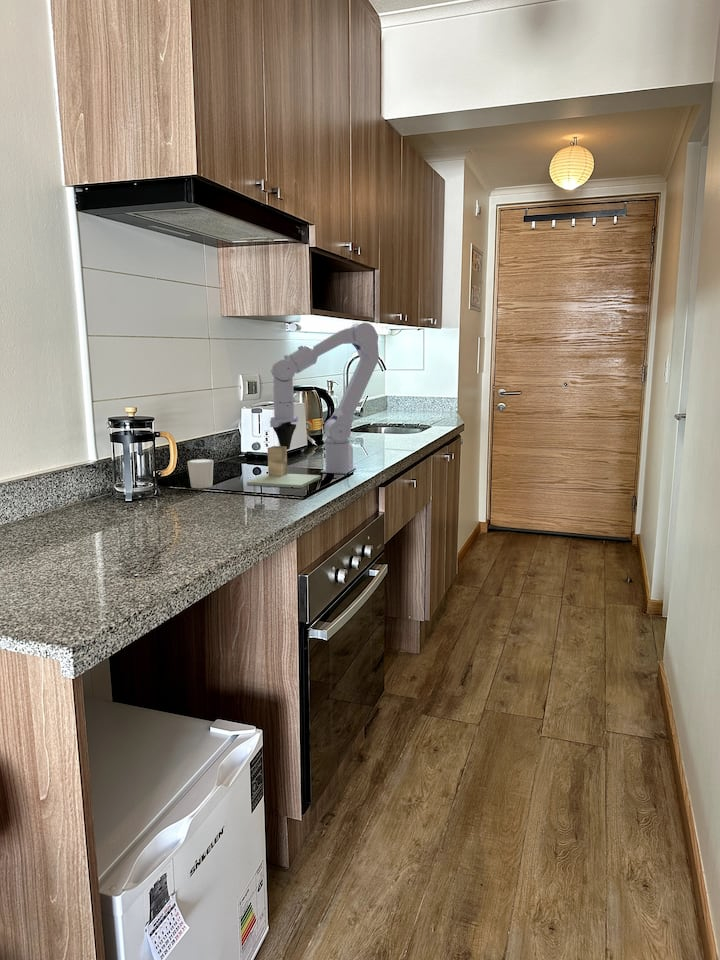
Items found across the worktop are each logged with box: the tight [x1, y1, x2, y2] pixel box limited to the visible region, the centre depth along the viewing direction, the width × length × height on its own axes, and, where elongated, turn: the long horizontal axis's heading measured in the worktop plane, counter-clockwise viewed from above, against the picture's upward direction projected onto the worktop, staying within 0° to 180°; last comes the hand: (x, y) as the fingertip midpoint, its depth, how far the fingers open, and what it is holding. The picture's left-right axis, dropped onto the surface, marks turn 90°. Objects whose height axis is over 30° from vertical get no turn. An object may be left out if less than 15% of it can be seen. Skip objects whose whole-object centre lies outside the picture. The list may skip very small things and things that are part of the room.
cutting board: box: [246, 473, 322, 489], centre depth 187 cm, size 14×16×1 cm
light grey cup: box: [187, 458, 214, 489], centre depth 181 cm, size 7×7×7 cm
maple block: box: [267, 445, 288, 477], centre depth 191 cm, size 4×4×8 cm
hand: (285, 449), depth 196 cm, fingers closed
